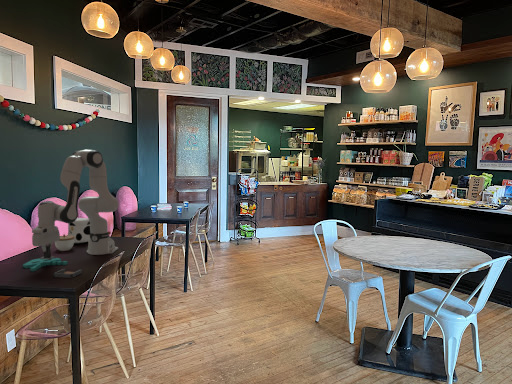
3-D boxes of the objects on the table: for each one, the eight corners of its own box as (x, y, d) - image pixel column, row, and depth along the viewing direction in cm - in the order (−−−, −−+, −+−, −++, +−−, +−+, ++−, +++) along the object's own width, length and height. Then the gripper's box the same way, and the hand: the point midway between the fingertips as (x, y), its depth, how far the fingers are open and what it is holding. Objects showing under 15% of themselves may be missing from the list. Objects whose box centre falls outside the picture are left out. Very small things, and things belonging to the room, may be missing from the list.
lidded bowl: (78, 248, 273) (77, 233, 272) (67, 252, 260) (67, 236, 259) (61, 247, 274) (61, 232, 273) (50, 251, 262) (50, 235, 261)
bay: (63, 272, 215) (63, 268, 214) (81, 273, 213) (81, 269, 213) (53, 276, 206) (53, 273, 206) (71, 278, 204) (71, 274, 204)
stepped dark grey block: (44, 257, 231) (43, 245, 230) (54, 257, 230) (54, 245, 229) (39, 259, 227) (39, 246, 226) (50, 259, 226) (49, 246, 225)
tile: (66, 273, 214) (66, 271, 214) (76, 274, 213) (76, 272, 213) (59, 276, 208) (59, 274, 208) (69, 277, 207) (69, 275, 207)
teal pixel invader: (67, 265, 231) (53, 259, 243) (67, 261, 230) (53, 256, 243) (31, 272, 215) (18, 265, 228) (31, 268, 215) (18, 262, 228)
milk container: (62, 243, 286) (61, 220, 284) (80, 239, 302) (80, 217, 300) (78, 246, 279) (78, 222, 278) (97, 241, 295) (96, 219, 293)
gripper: (53, 225, 238) (53, 246, 239) (29, 230, 217) (30, 254, 218) (62, 225, 237) (62, 247, 238) (39, 231, 217) (40, 254, 218)
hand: (47, 250), depth 228 cm, fingers closed on stepped dark grey block, 2 cm apart
